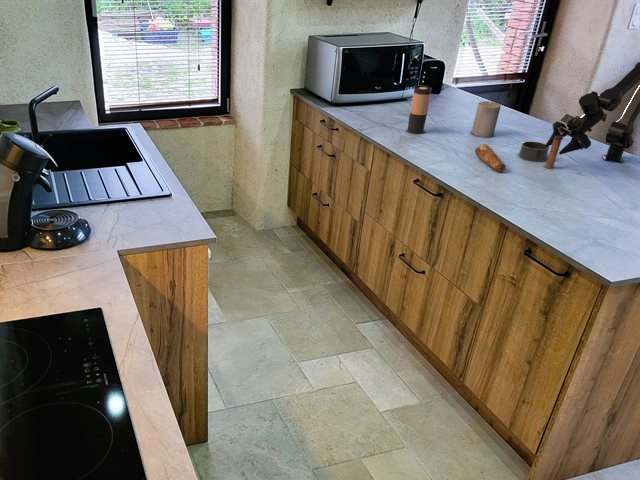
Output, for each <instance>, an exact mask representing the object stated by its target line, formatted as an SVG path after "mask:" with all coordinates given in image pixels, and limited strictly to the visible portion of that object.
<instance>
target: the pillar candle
mask: <svg viewBox="0 0 640 480" xmlns="http://www.w3.org/2000/svg"><path fill="white" fill-rule="evenodd" d="M501 106H502V104H500V103H498V102H494V101H486V100H485V101H479V102H478V104H477V107H476V112H475V116H474V119H473V120H474V121H473V125H472V129H471V134H472V135H473V136H475V137H482V138H491V137H494V135H495V132H496V127H497V123H498V118H499V114H500V111H501Z"/></svg>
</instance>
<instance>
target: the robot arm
mask: <svg viewBox="0 0 640 480" xmlns="http://www.w3.org/2000/svg"><path fill="white" fill-rule="evenodd" d="M639 82H640V61H638V62H636V64H635V65H634V67H633V68H632V69H631V70H630V71H629V72H628V73H627V74H625V76H624V77H622V79H620V81H618V82H617V83H615V85H614V86H613V87H610V88H607V89H605V90H604V91H602V92H601V93H598V92H597V91H594V90H592V91H591V92H589V93H586V94H584V95H581V97H579V99H578V104H579V106H580V109H581V112H582V113H583V115H582V116H578V115H576V116H573V115H570V114H569V113H564V115H563V116H562V117H561V119H560V120H557V121H555V122H554V123H553V124H552V130H553V131H552V134H551V136H550V137H549V139H548V140H547V142H546V143H545V144H546V145H545V146H546V147H548V146H549V147H550V146H552V143H553V140H554V137H555V136H561V137H562V140H563V139H564V138H565V137H567V136H568V137H570V138H571V139H570V142H568V143H567V144H566V145H565V146H564V147H563V148H561V150H560V151H558V155H565V154H567V153H571V152H574V151H579V150H584V149H585V150H587V149H588V148H590V147H591V145H592V141H591V139H590V138H589V136H588V134H586V133H587V132H588V133H591V132H593V129H592V128H593V127H595V125H597V124H598V123H599V122H601V121H602V122H606V120H607V116H608V114H607V113H605V112H604V111H607V112H613V111H615V110H616V109H617V108H618V106H619V105H621V103H622V100H623V97H624V96H625V95H626V94H627V93H628V92H629V91H630V90H631V89H632V88H634V87H635V85H637V83H639ZM639 114H640V84H639V85H638V87H637V89H636V90H635V92H634V94H633V96H632V98H631V99H630V101H629V103H628V105H627V106H626V108H625V110H624V112H623V114H622V115H621V116H620V118H619V119H618V120H616V121H615V120H613V121H612V122H611V124H610V126H609V128H608V129H607V131H606V132H605V133H606V134H605V143H606V144H609V146H608V147H607V148H608V149H607V151H606V154H603V159H604V161H608V162H614V163H615V162H616V163H623V159H622V157H623V155H624V152H625V149H630V148H632V146H633V145H634V138H633V136H632V135H633V133H634V128H635V127H634V122H635V121H636V119H637V117H638V115H639Z"/></svg>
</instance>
